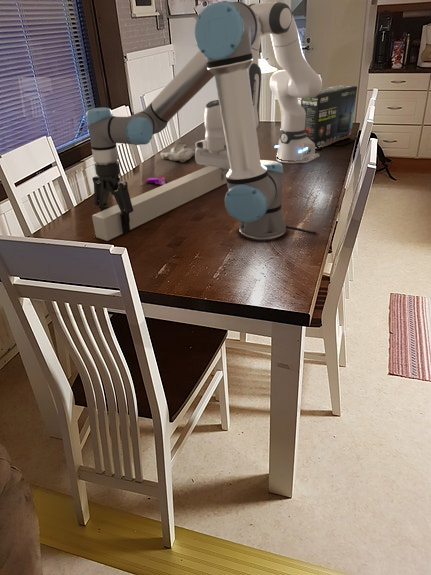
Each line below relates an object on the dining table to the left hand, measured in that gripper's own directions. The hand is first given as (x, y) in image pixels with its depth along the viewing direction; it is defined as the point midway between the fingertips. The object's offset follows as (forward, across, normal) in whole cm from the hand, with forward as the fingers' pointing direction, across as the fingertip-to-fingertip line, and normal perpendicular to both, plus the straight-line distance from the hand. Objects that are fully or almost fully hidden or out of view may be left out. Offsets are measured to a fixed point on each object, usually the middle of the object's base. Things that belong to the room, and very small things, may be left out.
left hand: (117, 228), depth 154 cm
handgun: (+1, +18, -41) cm, 45 cm away
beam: (+1, 0, -29) cm, 29 cm away
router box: (+1, -11, -141) cm, 141 cm away
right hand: (-2, 0, -58) cm, 58 cm away
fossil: (+1, +40, -80) cm, 89 cm away
